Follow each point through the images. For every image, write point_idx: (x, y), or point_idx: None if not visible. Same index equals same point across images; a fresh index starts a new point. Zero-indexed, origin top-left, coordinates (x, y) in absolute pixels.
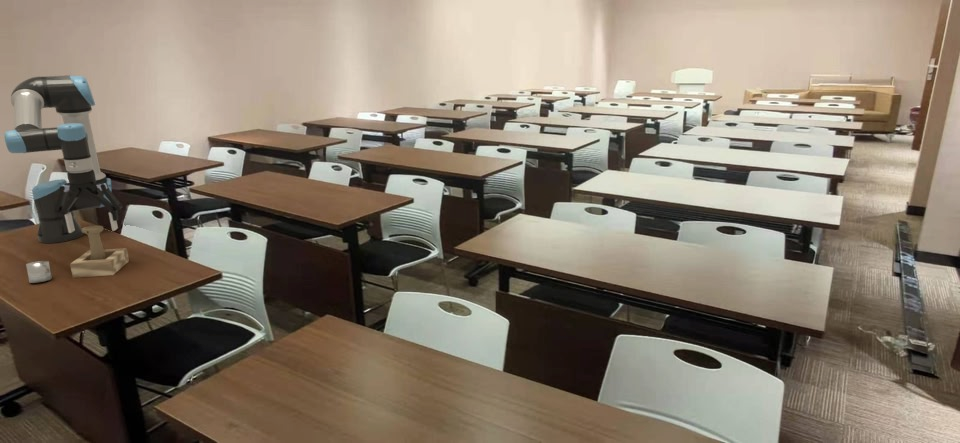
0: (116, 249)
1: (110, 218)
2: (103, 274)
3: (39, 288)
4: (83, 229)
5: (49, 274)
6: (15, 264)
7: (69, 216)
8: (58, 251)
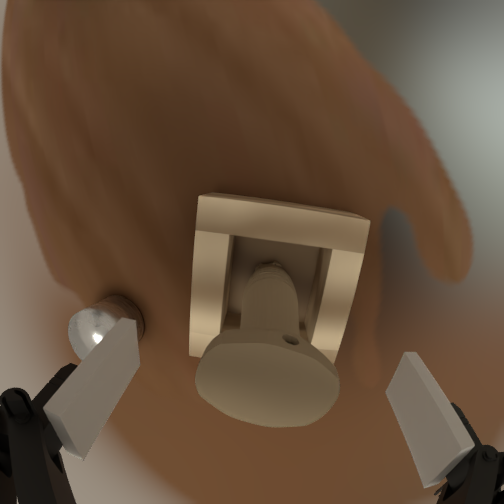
0: (330, 225)
1: (415, 452)
2: None
3: (147, 370)
4: (220, 409)
5: (137, 334)
6: (16, 145)
7: (85, 423)
8: (78, 44)
